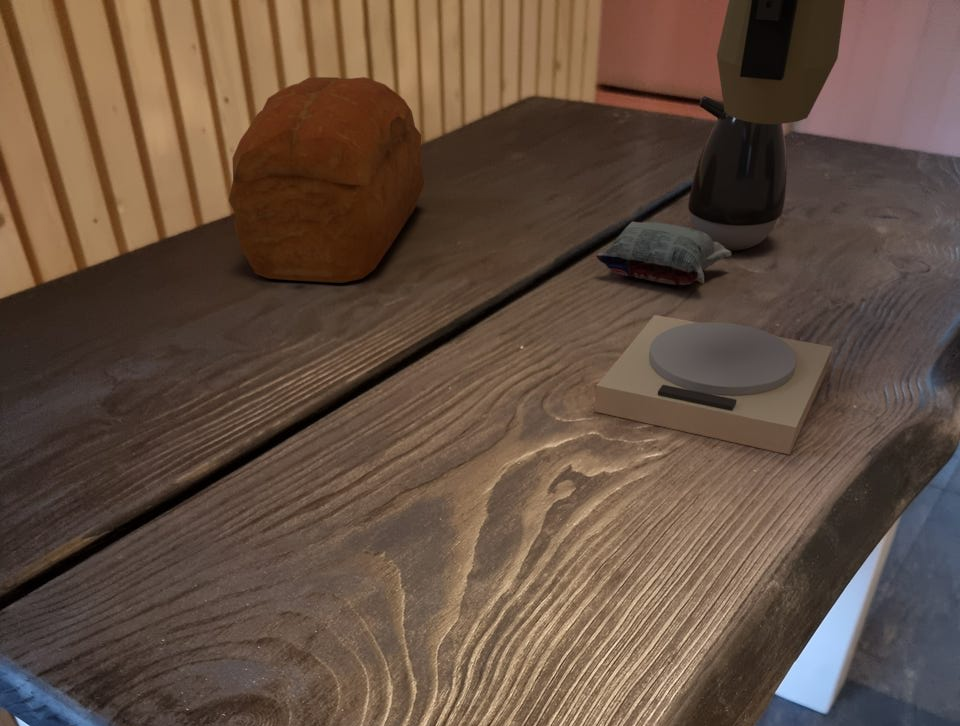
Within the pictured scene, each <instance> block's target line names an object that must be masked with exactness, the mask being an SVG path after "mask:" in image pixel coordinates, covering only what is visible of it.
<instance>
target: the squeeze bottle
mask: <svg viewBox="0 0 960 726" xmlns="http://www.w3.org/2000/svg"><path fill="white" fill-rule="evenodd" d="M845 2H846V0H798V2H797V7H796V13H795V18H794V24H793V29H792V34H791V40H790V45H789V51H788V56H787V61H786V67H785V72H784V77H783V79H782V80H770V79H759V78H748V77H740V72H741V66H742V60H743V53H744V47H745V41H746V34H747V28H748V22H749V15H750V9H751V3H752V0H728V4H727V8H726V13H725V17H724V21H723V25H722V29H721V35H720V39H719V43H718V47H717V52H716V59H717V67H718V74H719V81H720V88H721V96H722V97H721V98H722V103H723V104H724V111H725V112H726V113H727V115H729V116H731V117H734V118H736V119H739V120H743V121H747V122H752V123H759V124H782V125H783V124H791V123H797V122H800V121H802V120H806V119H808V118H809V115H810V114H811V112H812V110H813V108H814V106H815V103H816V102H817V100H818V98H819V96H820V94H821V92H822V90H823V88H824V86H825V84H826V82H827V80H828V78H829V76H830V74H831V72H832V70H833V68H834V67H835V64H836V62H837V60H838V59H839V58H838V57H839V50H840V42H841V35H842V27H843V20H844V13H845V4H846V3H845Z"/></svg>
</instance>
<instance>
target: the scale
mask: <svg viewBox="0 0 960 726" xmlns="http://www.w3.org/2000/svg"><path fill="white" fill-rule="evenodd" d="M833 349H834V347H833V346H831V345H825V344H819V343H813V342H808V341H802V340H796V339H791V338H785V337H780V336H776V335H774V334H772V333H771V332H767V331H766V330H762V329H759V328H756V327H752V326H748V325H743V324H737V323H729V322H719V321H717V322H716V321H715V322H713V321H712V322H711V321H710V322H709V321H707V322H704V321H703V322H697V321H691V320H685V319H679V318H674V317H668V316H664V315H663V316H662V315H657V314H654V315H653V316H652V317H651V318H650V319H649V321H648V322H647V324H646V325H645V326H644V327H643V328H642V330H640V332H639V333H638V335H637V336H636V337H634V339H633V340H632V341H631V343H630V344H629V345H628V346H627V348H625V350H624V351H623V353H621V355H620V356H619V357H618V359H617V360H616V361H615V362H614V363H613V365H612V366H611V367H610V369H608V371H607V372H606V374H604V376H603V377H602V378H601V379H600V381H599V382H598V383H597V384H596V387H595V388H596V389H595V402H594V412H595V413H598V414H603V415H608V416H612V417H617V418H622V419H626V420H630V421H634V422H639V423H644V424H648V425H653V426H657V427H661V428H667V429H672V430H675V431H680V432H685V433H689V434H693V435H698V436H703V437H707V438H712V439H715V440H716V439H717V440H721V441H725V442H730V443H735V444H739V445H743V446H748V447H753V448H759V449H762V450H765V451H766V450H767V451H769V452H776V453H779V454H785V455H789V456H790V455H791V452H792V450H793V448H794V446H795V444H796V442H797V439H798V437H799V435H800V432H801V430H802V428H803V426H804V423H805V422H806V419H807V416H808V414H809V413H810V410H811V408H812V405H813V403H814V401H815V400H816V397H817V395H818V392H819V390H820V388H821V386H822V384H823V381H824V379H825V377H826V375H827V373H828V369H829V365H830V360H831V357H832V353H833Z"/></svg>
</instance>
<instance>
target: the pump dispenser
mask: <svg viewBox="0 0 960 726" xmlns="http://www.w3.org/2000/svg"><path fill="white" fill-rule="evenodd" d="M699 107H700V108H701V109H703V110H705V111H706V112H707V113H709V114H710V115H712V116H714V117H715V118H717V120H716V122H715V124H714V125H713V127H712V129H711V131H710V133H709V135H708V138H707V139H706V142H705V144H704V147H703V149H702V151H701V154H700V157H699V160H698V163H697V166H696V169H695V173H694V176H693V180H692V184H691V188H690V192H689V196H688V204H687V205H688V207H687V209H688V211H689V212H690V220H691V224H692V227H693V228H692V229H695V230H698V231H700V232H703V233H706V234H707V235H708V236H709V237H710V238H711V239H712V241H713V242H718V243H719V244H721V245H722V246H724V248H725V249H727V250H729V251H730V252H732V251H735V252H736V251H742V250H743V251H744V250H747V249H750V248H753V247H755V246H756V245H759V244H760V243H762V242H763V241H764V240H765V239H766V238H767V237H768V236H769V235H770V234H771V232H772V231H773V229H774V227H775V226H776V224H777V221H778V219H779V218H780V217H781V216H782V215H783V211H784V207H785V202H786V201H785V200H786V189H787V174H788V172H787V171H788V169H787V165H788V164H787V163H788V162H787V161H788V160H787V147H786V140H785V139H786V138H785V131H784V126H783V124H759V123H752V122H747V121H743V120H739V119H736V118H734V117H731V116H729V115H727V113H726V112H725V111H724V104H723V102H720V101H718V100H716V99H714V98H712V97H708V96H707V95H704V96H702V97H701V99H700V102H699Z"/></svg>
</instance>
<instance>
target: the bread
mask: <svg viewBox="0 0 960 726" xmlns="http://www.w3.org/2000/svg"><path fill="white" fill-rule="evenodd" d="M424 184H425V178H424V173H423V168H422V133H420V131H419V130H418V128H417V127H416V124H415V119H414V114H413V110H412V109H411V108H410V106H409V105H408V103H407V102H406V100H405V99H404V98H403V97H402V96H400V95H399V94H398V93H397V92H396V91H394V90H393V89H392V88H390V87H389V86H388V85H386V83H383V82H379V81H376V80H374V79H372V78H369V77H365V76H362V77H352V78H345V77H344V78H339V77H337V76H336V77H334V76H331V77H328V76H325V77H324V76H318V77H307V78H306V79H304V80H302V81H300V82H297V83H294V84H291V85H289V86H287V87H285V88H283V89H282V88H281V89H280V90H279V91H277V92H275V93H274V94H272V95H270V96H269V97H268V98H267V99H266V101H265V104H264V105H263V108H262V109H261V110H260V111H259V112H258V113H257V114H256V116H254V119H253V120H252V122H251V124H250V125H249V126H248V128H247V130H246V131H245V132H244V134H243V135H242V137H241V138H240V140H239V142H238V143H237V147H236V149H235V151H234V153H233V156H232V183H231V187H230V188H231V189H230V192H229V196H228V202H229V205H230V206H231V208H232V210H233V212H234V215H235V217H234V221H233V224H232V225H233V227H234V228H233V229H234V231H235V235H236V238H237V242H238V246H239V248H240V250H241V252H242V253H243V255H244V257H245V258H246V260H247V262H248V264H249V265H250V267H251V269H252V272H253V273H254V274H255V275H257V276H260V277H263V278H265V279H270V280H271V279H272V280H285V281H297V282H318V283H336V284H343V283H348V282H353V281H357V280H363V279H364V278H365V277H366V276H368V275H369V274H370V273H373V271H374V270H376V268H377V266H378V265H379V264H380V262H381V261H382V259H383V258H384V256H385V255H386V253H387V252H388V251H389V249H390V248H391V247H392V245H393V244H394V242H395V240H396V239H397V237H398V235H399V234H400V232H401V231H402V230H403V228H404V226H405V224H406V223H407V222H408V220H409V219H410V217H411V215H413V213H414V211H415V209H416V206H417V203H418V200H419V198H420V196H421V193H422V190H423V187H424Z"/></svg>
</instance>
